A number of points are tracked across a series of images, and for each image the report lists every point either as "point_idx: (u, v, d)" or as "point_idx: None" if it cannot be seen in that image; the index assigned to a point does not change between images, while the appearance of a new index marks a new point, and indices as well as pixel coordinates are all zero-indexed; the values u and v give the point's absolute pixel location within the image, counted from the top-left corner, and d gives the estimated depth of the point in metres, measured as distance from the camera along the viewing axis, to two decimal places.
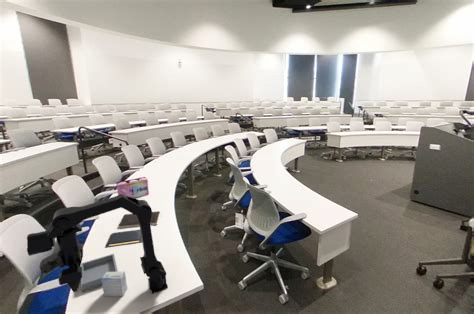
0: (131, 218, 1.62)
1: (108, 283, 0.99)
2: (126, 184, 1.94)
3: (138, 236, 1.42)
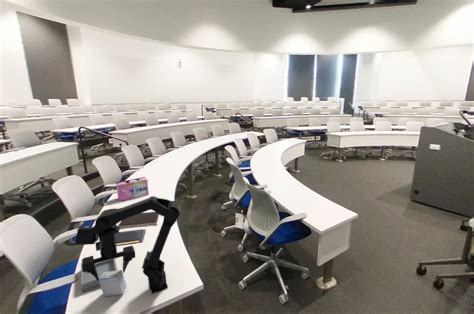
0: (131, 218, 1.62)
1: (105, 283, 0.99)
2: (126, 184, 1.94)
3: (138, 236, 1.42)
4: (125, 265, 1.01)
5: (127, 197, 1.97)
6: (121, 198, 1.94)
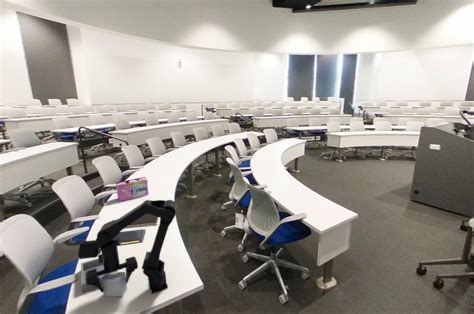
0: None
1: (107, 283, 0.99)
2: (126, 184, 1.94)
3: (138, 236, 1.42)
4: (128, 276, 1.02)
5: (127, 197, 1.96)
6: (121, 198, 1.94)
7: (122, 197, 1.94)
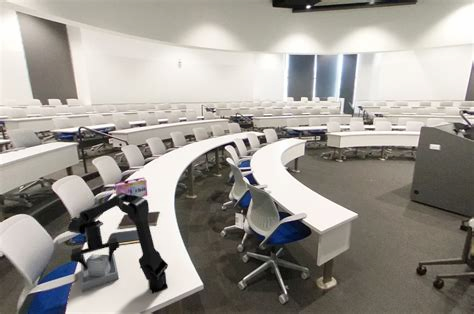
0: None
1: (91, 264, 1.10)
2: (124, 185, 1.93)
3: None
4: (110, 255, 1.12)
5: None
6: None
7: None
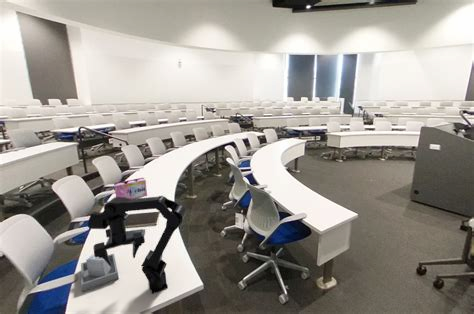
0: (131, 218, 1.62)
1: (91, 264, 1.10)
2: (124, 185, 1.93)
3: None
4: (135, 250, 1.04)
5: None
6: None
7: None
